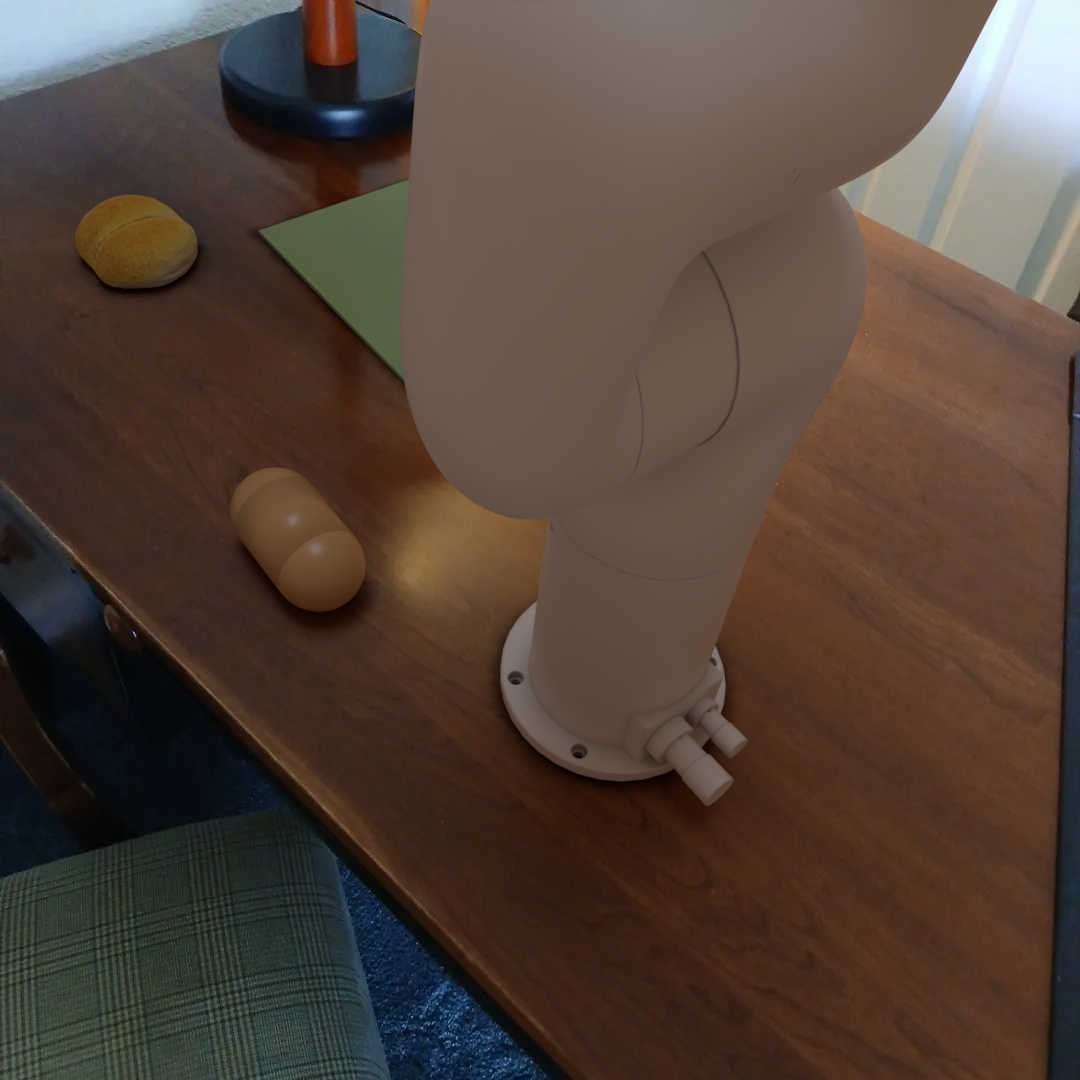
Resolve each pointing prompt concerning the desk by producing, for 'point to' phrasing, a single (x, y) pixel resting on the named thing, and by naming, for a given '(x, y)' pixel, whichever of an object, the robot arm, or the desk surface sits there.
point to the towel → (354, 263)
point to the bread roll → (136, 242)
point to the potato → (297, 539)
